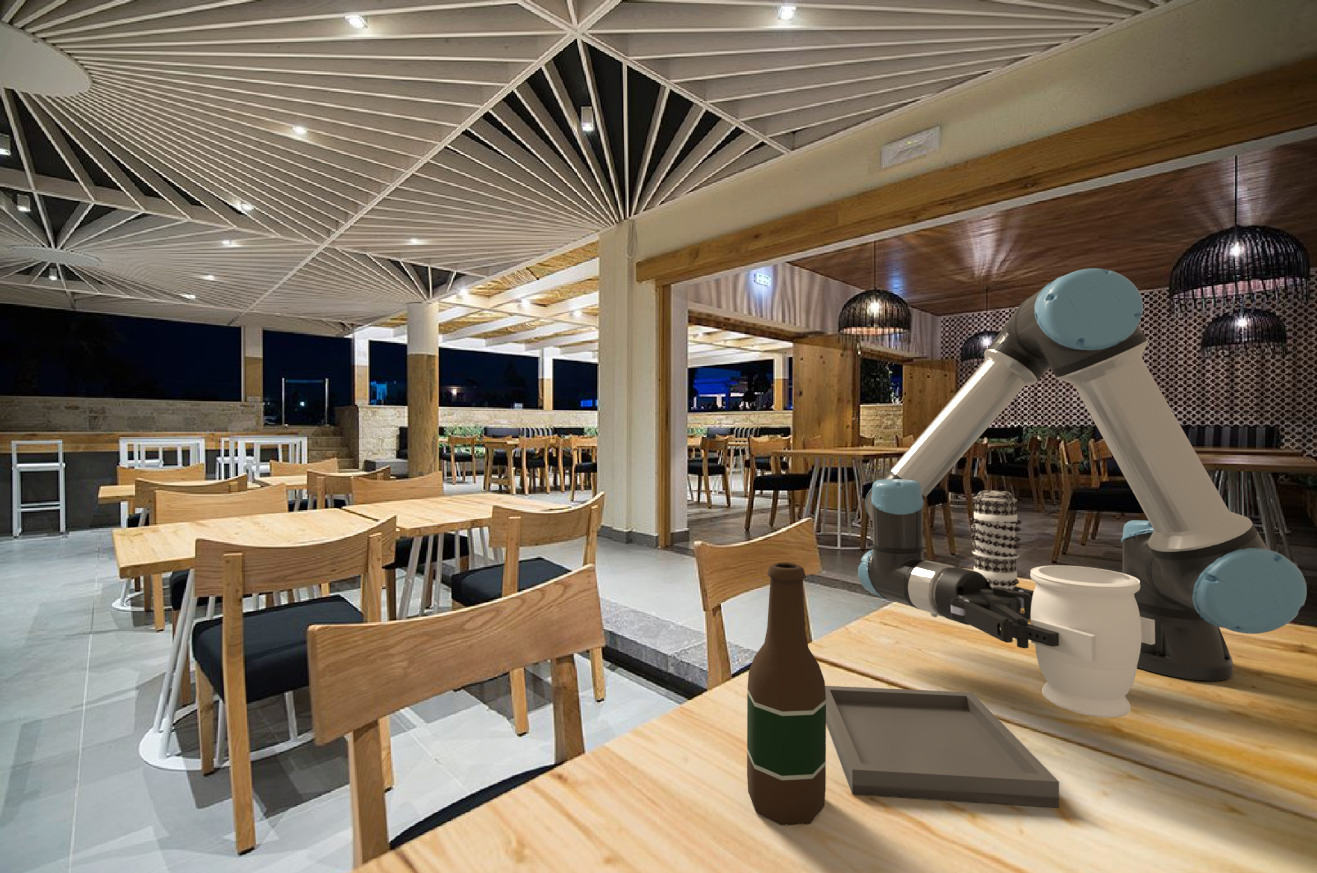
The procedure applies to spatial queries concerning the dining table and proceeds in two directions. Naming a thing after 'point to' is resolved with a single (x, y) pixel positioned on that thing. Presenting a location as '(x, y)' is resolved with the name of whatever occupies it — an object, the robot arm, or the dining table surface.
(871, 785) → the tray
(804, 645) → the beer bottle
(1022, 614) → the robot arm
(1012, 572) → the decorative candle
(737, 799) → the dining table surface
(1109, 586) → the jar
